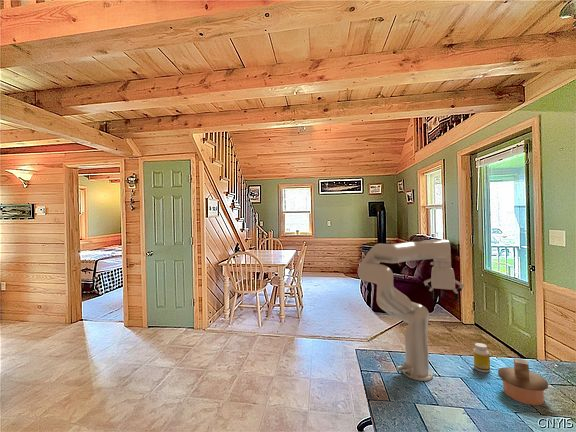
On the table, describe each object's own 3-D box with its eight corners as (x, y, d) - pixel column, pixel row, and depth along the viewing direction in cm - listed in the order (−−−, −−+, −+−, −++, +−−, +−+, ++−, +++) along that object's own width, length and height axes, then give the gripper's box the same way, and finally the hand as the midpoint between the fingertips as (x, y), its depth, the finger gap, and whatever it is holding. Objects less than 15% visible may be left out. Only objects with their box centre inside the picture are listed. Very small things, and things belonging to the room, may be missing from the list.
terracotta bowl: (527, 407, 102) (526, 390, 102) (496, 388, 114) (495, 373, 114) (552, 402, 104) (551, 385, 105) (519, 384, 116) (519, 369, 116)
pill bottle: (493, 373, 125) (491, 348, 126) (477, 372, 127) (476, 347, 127) (486, 366, 131) (485, 342, 132) (471, 365, 133) (470, 341, 133)
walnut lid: (500, 383, 107) (499, 364, 107) (496, 366, 120) (495, 349, 120) (552, 395, 99) (551, 375, 99) (543, 375, 112) (542, 357, 112)
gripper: (422, 265, 139) (423, 299, 138) (462, 267, 130) (464, 304, 129) (424, 263, 145) (425, 296, 145) (463, 265, 136) (464, 300, 135)
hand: (443, 300), depth 137 cm, fingers open, 9 cm apart
